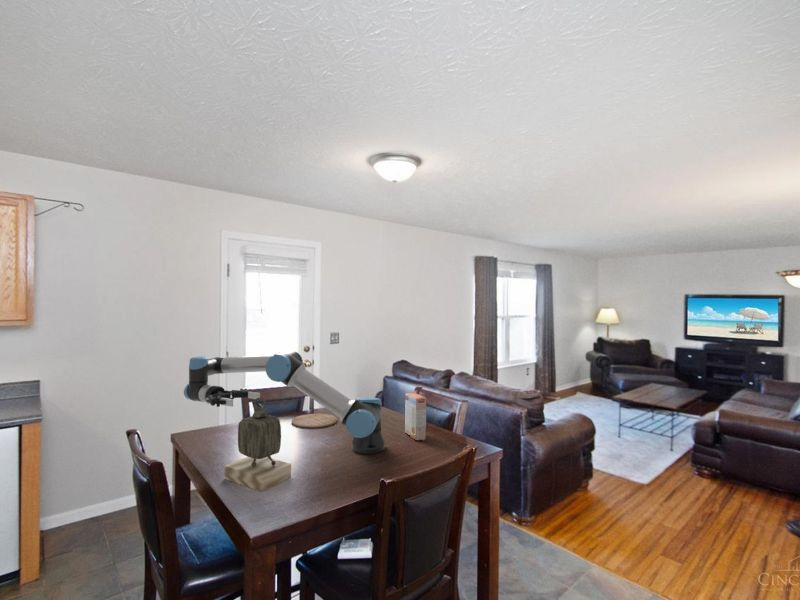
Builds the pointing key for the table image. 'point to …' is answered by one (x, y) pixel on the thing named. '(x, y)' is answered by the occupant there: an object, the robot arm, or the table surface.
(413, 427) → the cracker box
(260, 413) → the tabletop clock
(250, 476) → the maple base
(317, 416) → the trivet
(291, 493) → the table surface
